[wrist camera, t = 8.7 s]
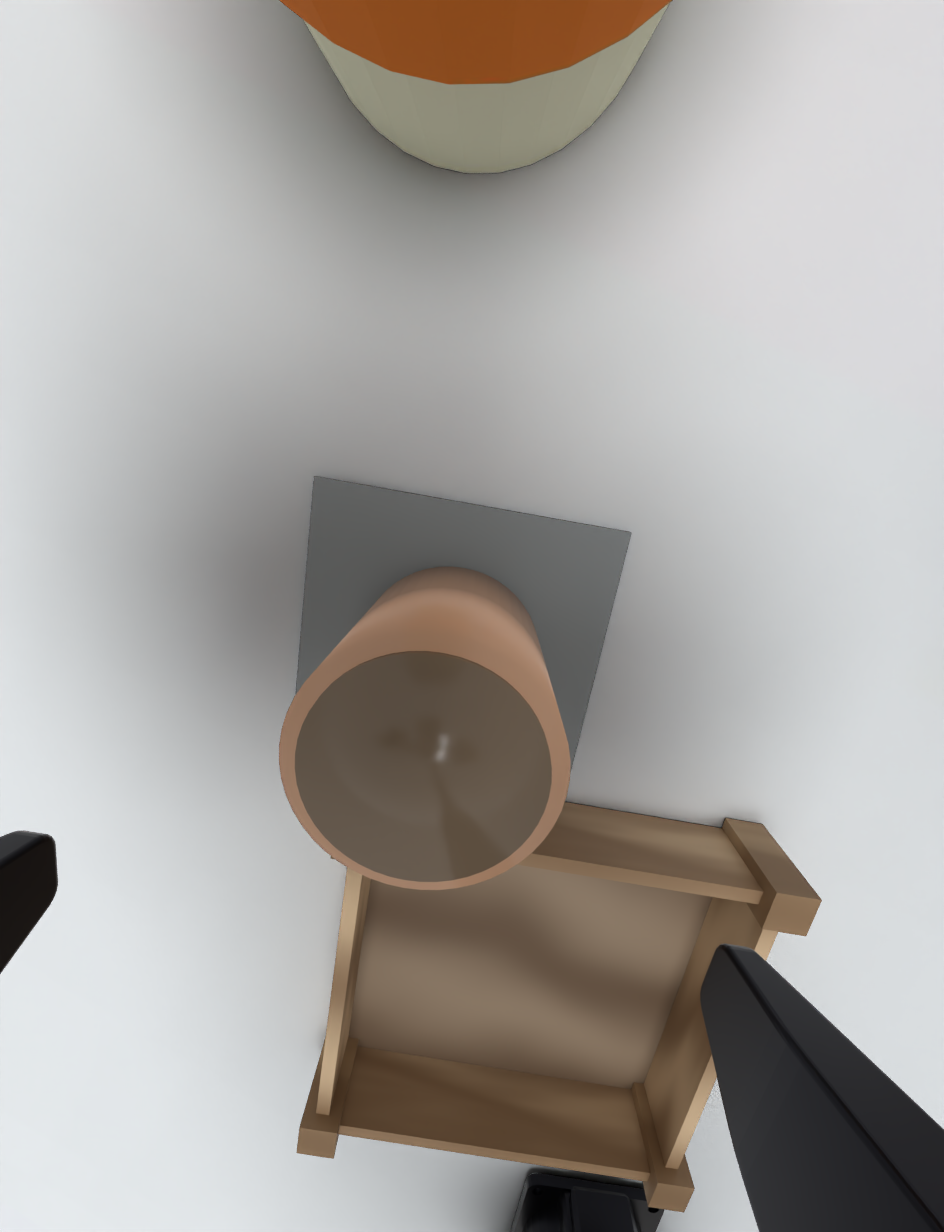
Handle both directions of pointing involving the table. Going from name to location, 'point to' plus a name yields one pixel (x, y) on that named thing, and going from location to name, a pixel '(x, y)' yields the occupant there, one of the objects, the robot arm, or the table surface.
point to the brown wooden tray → (549, 998)
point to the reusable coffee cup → (481, 70)
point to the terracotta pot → (429, 737)
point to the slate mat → (468, 538)
